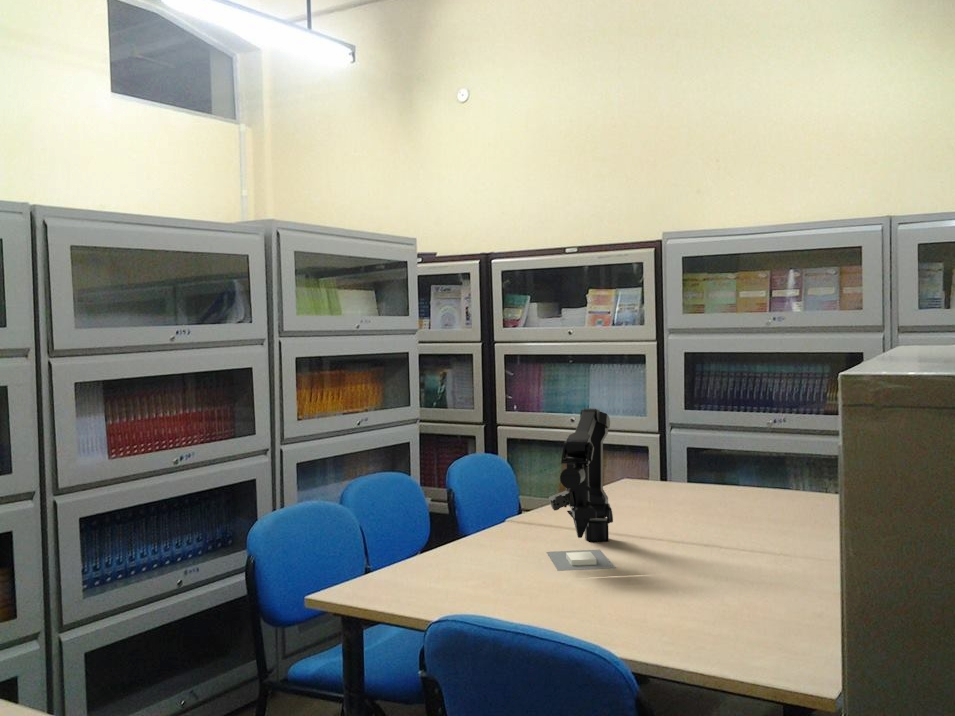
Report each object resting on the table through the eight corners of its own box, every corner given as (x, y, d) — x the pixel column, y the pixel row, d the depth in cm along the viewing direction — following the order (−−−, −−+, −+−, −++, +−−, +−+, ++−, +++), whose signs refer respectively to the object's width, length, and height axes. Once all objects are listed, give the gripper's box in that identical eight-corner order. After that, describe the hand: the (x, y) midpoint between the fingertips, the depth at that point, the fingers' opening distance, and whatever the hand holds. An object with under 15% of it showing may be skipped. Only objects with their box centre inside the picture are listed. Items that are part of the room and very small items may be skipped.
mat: (599, 550, 254) (599, 549, 254) (616, 569, 234) (616, 567, 234) (546, 553, 253) (546, 551, 253) (557, 572, 233) (557, 570, 233)
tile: (590, 551, 246) (596, 559, 238) (590, 557, 246) (596, 564, 238) (566, 552, 246) (571, 560, 238) (566, 558, 246) (571, 565, 238)
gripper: (545, 477, 251) (546, 531, 252) (556, 489, 233) (557, 547, 233) (582, 476, 252) (583, 529, 253) (596, 488, 234) (597, 545, 234)
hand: (579, 537), depth 243 cm, fingers closed
